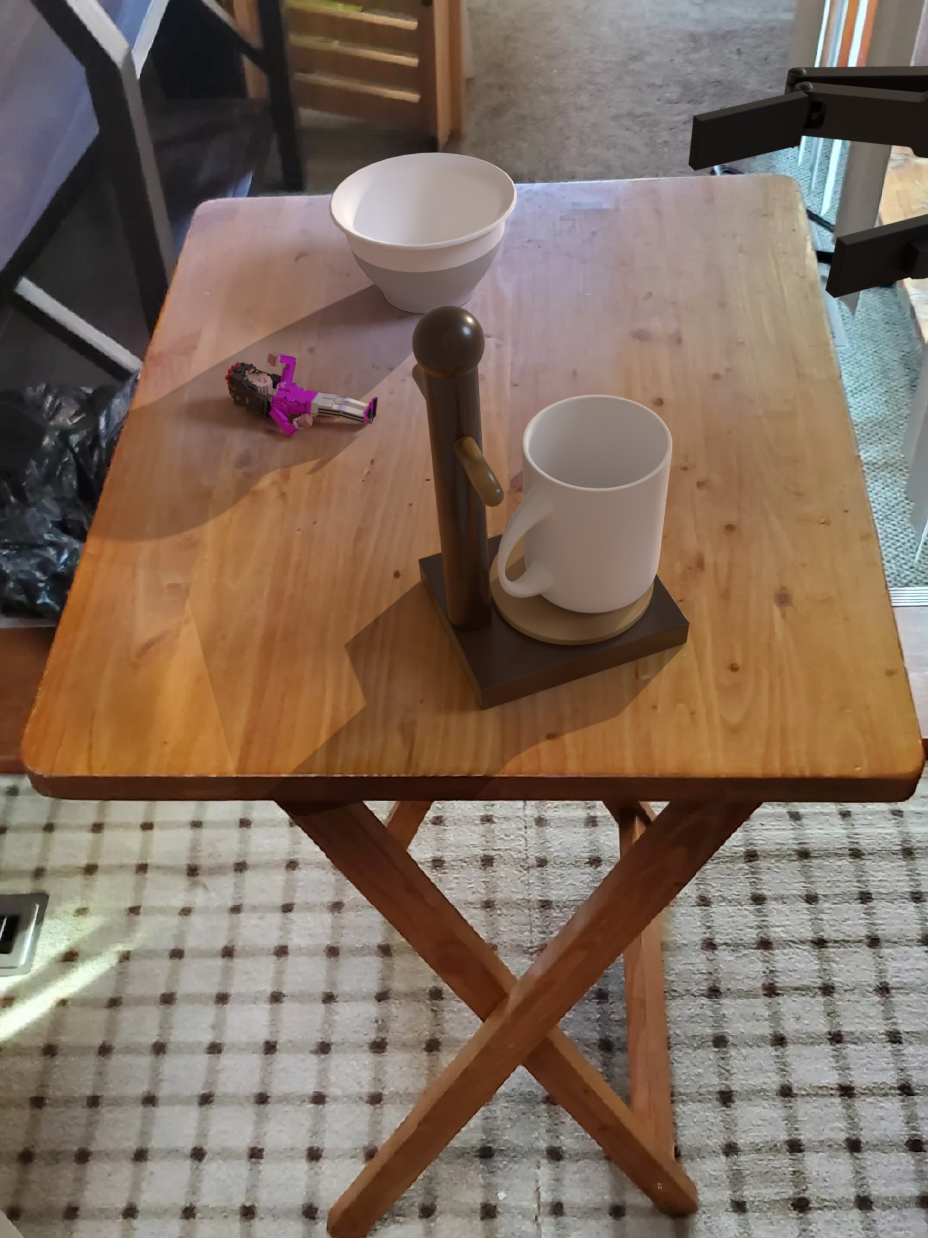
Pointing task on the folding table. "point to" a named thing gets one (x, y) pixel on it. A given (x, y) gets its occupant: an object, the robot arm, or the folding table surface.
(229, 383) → the character figurine
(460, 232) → the bowl
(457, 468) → the mug stand
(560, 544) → the mug
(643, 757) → the folding table surface
